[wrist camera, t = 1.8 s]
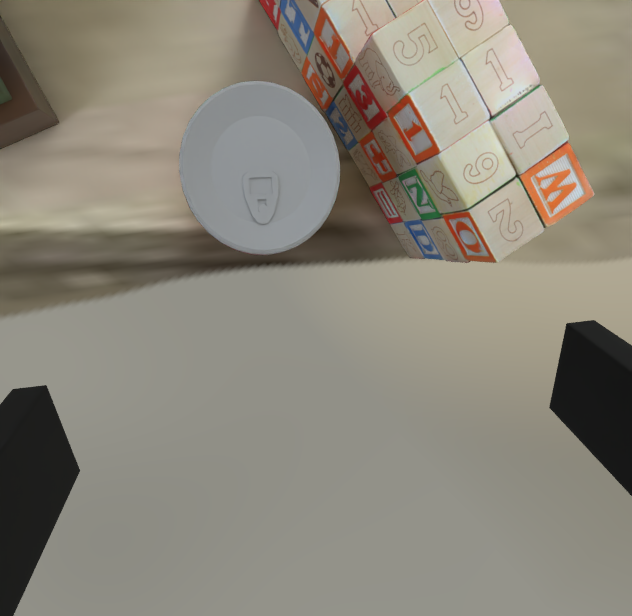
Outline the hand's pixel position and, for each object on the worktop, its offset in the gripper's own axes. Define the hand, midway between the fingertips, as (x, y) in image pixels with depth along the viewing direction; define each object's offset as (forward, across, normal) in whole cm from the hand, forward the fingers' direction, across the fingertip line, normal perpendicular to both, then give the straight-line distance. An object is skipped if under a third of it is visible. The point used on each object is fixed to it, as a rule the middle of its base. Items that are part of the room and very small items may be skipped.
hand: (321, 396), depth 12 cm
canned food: (+23, -2, 0) cm, 23 cm away
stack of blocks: (+25, +7, +5) cm, 27 cm away
